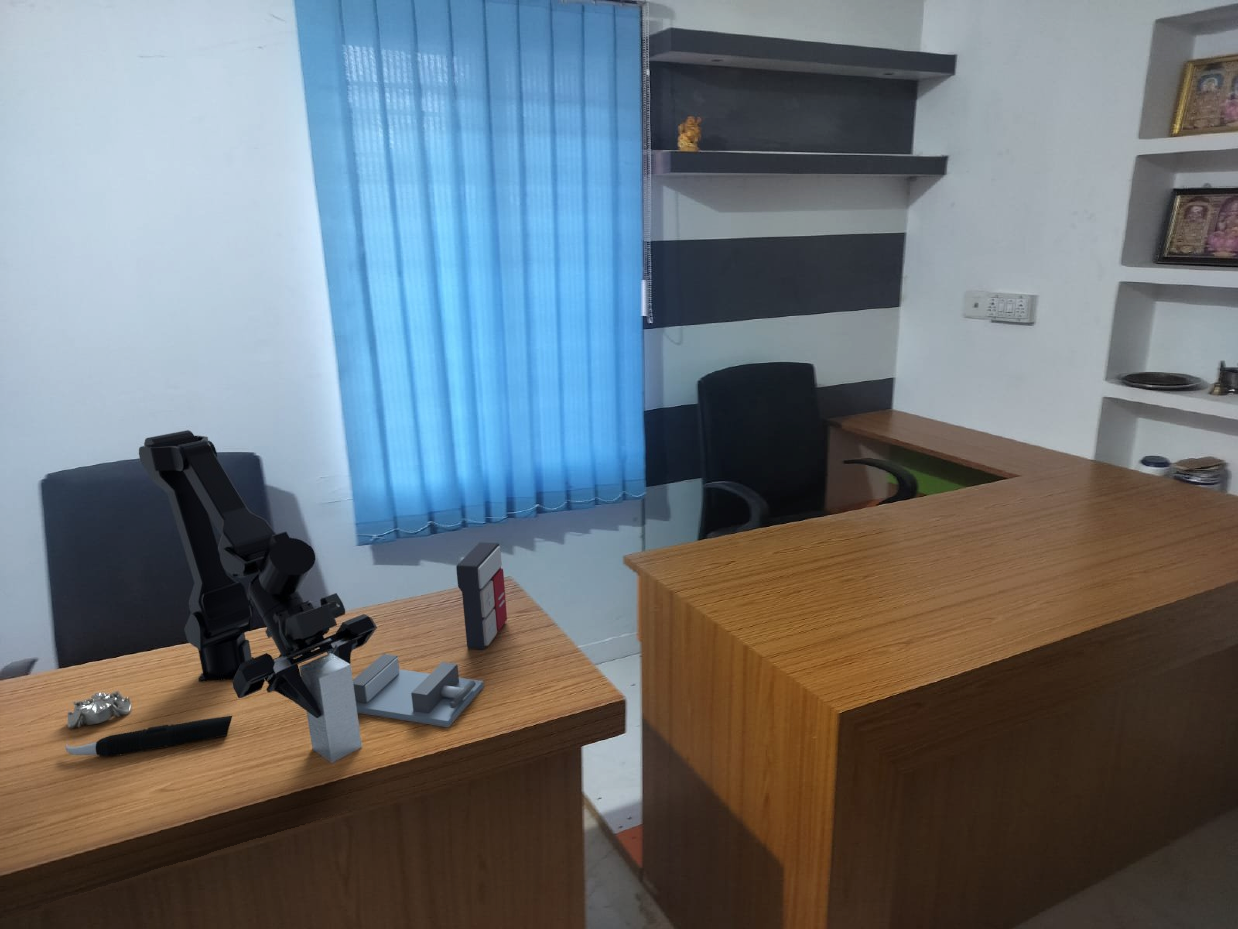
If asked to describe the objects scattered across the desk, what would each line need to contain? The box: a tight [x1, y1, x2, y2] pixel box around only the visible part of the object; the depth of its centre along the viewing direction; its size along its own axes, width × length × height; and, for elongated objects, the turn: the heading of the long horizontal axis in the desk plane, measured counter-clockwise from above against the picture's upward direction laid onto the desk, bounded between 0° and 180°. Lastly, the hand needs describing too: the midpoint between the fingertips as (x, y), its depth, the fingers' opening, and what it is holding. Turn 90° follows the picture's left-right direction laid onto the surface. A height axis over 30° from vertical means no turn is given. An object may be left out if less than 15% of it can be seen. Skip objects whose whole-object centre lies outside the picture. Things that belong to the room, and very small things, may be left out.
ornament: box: [67, 690, 132, 729], centre depth 121 cm, size 8×7×4 cm
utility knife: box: [65, 714, 233, 757], centre depth 114 cm, size 22×4×3 cm, turn 106°
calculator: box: [455, 541, 508, 650], centre depth 140 cm, size 11×4×15 cm, turn 168°
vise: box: [353, 653, 485, 728], centre depth 123 cm, size 18×11×4 cm, turn 73°
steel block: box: [299, 653, 363, 764], centre depth 110 cm, size 4×5×12 cm
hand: (336, 708), depth 109 cm, fingers closed on steel block, 4 cm apart
